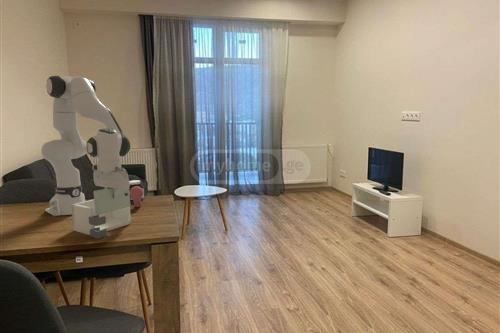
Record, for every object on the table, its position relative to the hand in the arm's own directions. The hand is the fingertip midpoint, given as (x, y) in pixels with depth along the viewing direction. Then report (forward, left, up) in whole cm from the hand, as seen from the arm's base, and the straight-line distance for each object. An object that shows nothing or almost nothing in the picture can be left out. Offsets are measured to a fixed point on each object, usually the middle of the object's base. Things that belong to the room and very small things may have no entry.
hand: (112, 197), depth 151 cm
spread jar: (-39, +40, -15) cm, 58 cm away
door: (0, 0, -6) cm, 6 cm away
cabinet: (-7, 0, -15) cm, 16 cm away
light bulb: (-23, +31, -15) cm, 42 cm away
